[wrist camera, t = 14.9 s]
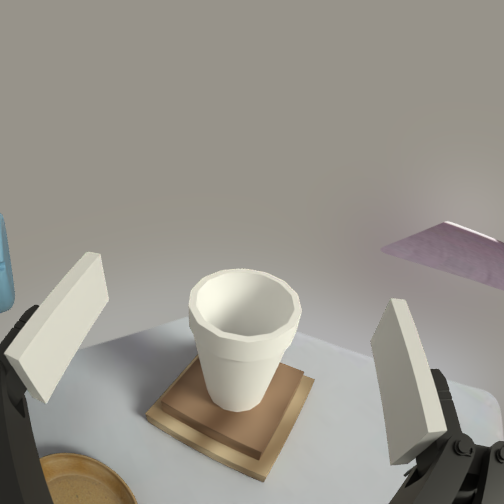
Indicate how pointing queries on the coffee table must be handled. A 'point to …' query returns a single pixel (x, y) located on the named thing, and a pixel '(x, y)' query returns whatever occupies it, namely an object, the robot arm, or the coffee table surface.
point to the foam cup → (241, 333)
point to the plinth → (222, 450)
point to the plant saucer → (83, 481)
